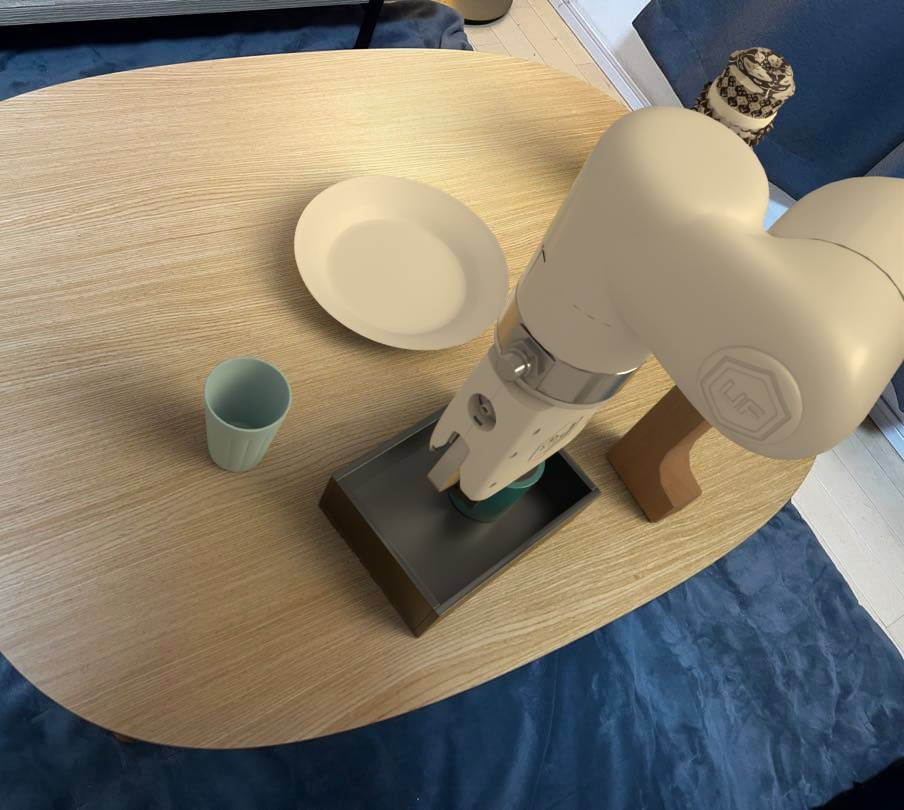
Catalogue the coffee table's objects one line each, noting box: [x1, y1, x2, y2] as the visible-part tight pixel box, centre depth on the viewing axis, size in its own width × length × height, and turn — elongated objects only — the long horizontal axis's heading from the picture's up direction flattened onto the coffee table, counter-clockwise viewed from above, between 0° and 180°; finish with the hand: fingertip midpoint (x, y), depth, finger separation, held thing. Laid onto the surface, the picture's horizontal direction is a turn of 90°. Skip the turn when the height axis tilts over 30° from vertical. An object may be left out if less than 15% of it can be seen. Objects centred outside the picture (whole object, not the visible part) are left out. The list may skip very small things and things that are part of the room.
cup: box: [202, 355, 293, 473], centre depth 78 cm, size 8×8×10 cm
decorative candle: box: [688, 46, 796, 152], centre depth 103 cm, size 9×9×25 cm
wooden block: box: [605, 384, 714, 524], centre depth 84 cm, size 9×4×18 cm, turn 28°
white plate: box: [293, 174, 510, 351], centre depth 97 cm, size 25×25×4 cm
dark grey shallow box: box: [317, 402, 603, 639], centre depth 81 cm, size 16×22×7 cm
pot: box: [448, 460, 545, 522], centre depth 82 cm, size 7×7×8 cm
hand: (463, 487), depth 59 cm, fingers closed
